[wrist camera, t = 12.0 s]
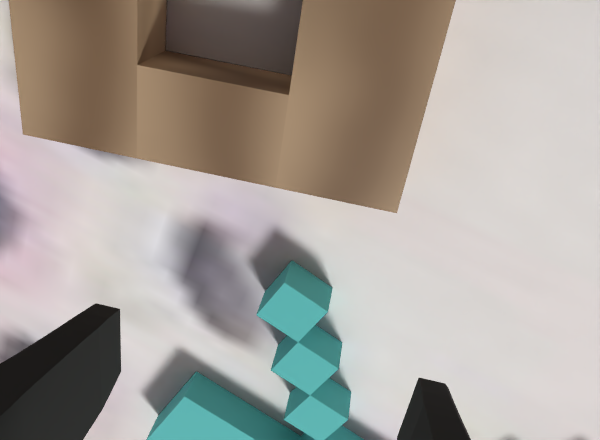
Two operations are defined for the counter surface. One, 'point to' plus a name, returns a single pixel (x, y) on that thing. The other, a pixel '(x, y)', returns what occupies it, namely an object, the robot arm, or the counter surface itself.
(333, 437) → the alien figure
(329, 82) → the socket block
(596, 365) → the counter surface
